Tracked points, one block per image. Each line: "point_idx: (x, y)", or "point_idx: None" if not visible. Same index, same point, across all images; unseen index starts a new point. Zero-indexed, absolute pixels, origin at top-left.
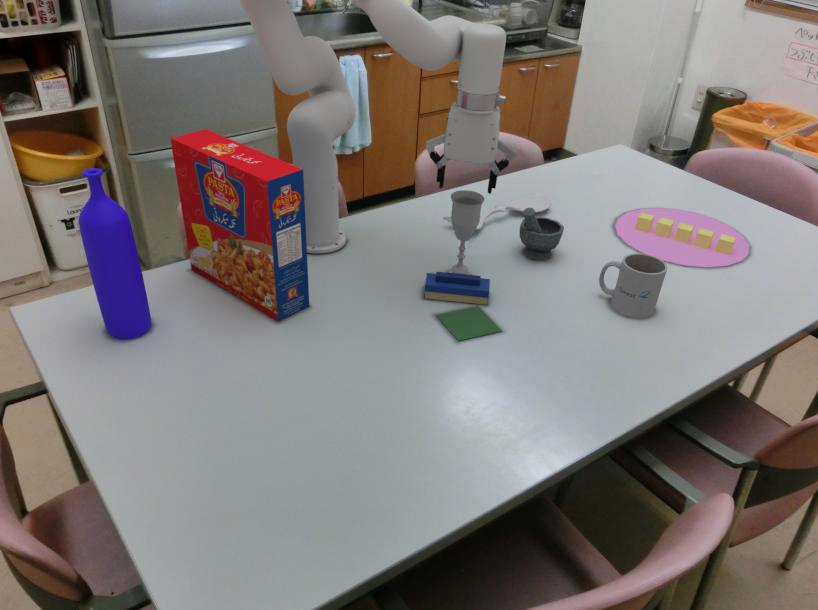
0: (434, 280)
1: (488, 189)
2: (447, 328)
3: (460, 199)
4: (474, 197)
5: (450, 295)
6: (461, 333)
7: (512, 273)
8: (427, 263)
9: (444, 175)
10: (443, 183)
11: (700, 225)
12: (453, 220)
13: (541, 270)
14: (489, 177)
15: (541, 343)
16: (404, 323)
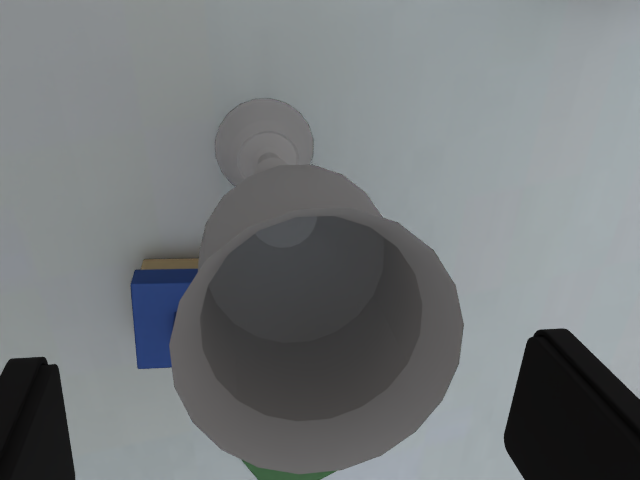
0: (170, 334)
1: (522, 473)
2: (243, 461)
3: (257, 222)
4: (381, 232)
5: None
6: (284, 474)
7: (489, 80)
8: (107, 49)
9: (36, 460)
10: (62, 436)
11: None
12: (220, 320)
13: (614, 31)
14: (591, 422)
15: (494, 456)
16: (108, 464)
